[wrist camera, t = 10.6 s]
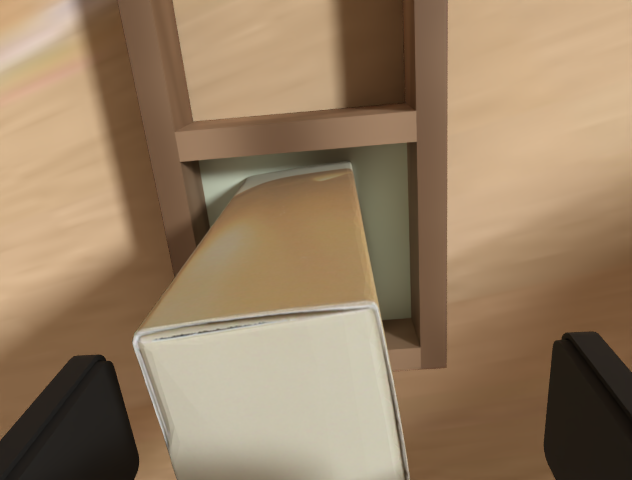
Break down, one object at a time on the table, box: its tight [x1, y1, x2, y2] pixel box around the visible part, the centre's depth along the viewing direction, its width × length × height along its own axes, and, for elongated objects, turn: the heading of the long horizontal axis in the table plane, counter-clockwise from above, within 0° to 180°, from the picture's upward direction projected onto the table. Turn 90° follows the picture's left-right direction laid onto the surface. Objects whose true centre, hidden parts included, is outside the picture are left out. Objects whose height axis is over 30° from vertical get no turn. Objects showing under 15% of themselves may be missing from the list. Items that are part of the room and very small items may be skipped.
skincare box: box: [132, 161, 410, 480], centre depth 15 cm, size 6×4×12 cm
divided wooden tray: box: [117, 0, 448, 371], centre depth 18 cm, size 10×19×2 cm, turn 5°
